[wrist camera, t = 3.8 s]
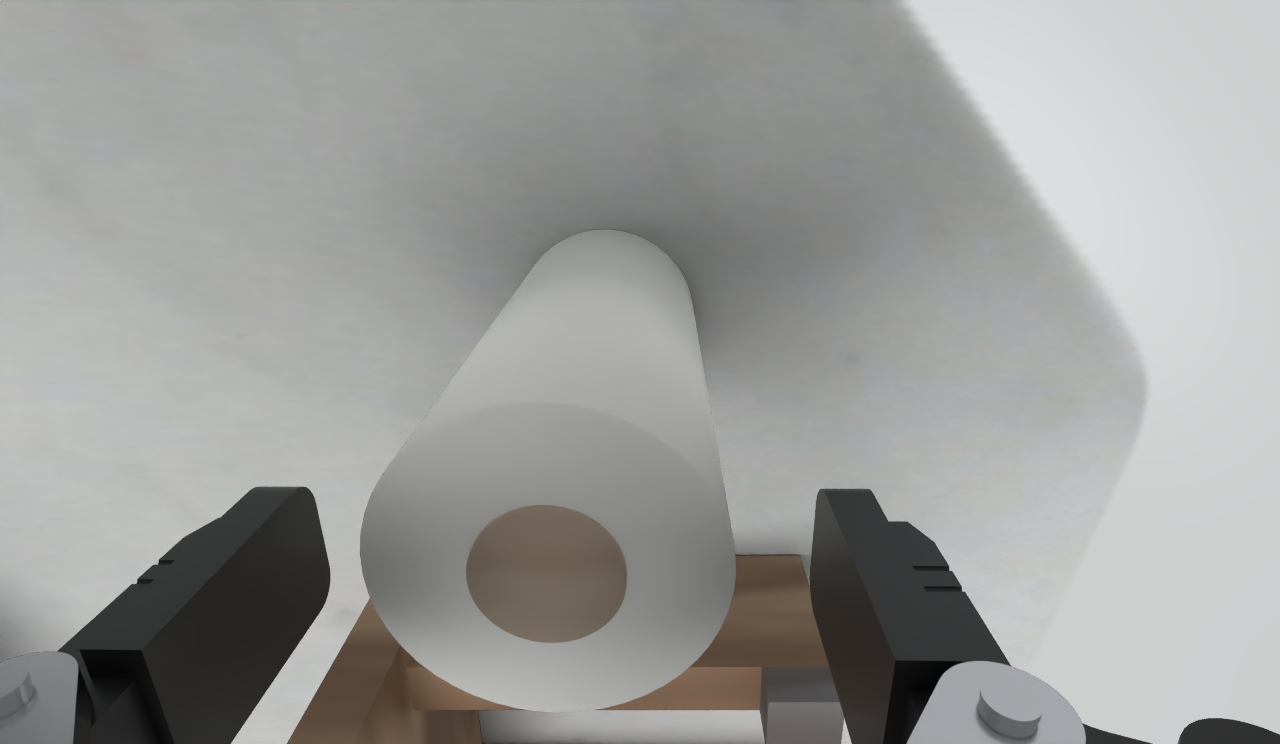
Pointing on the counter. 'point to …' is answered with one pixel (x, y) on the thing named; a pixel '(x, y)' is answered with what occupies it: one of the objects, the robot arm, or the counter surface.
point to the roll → (562, 494)
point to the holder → (719, 680)
